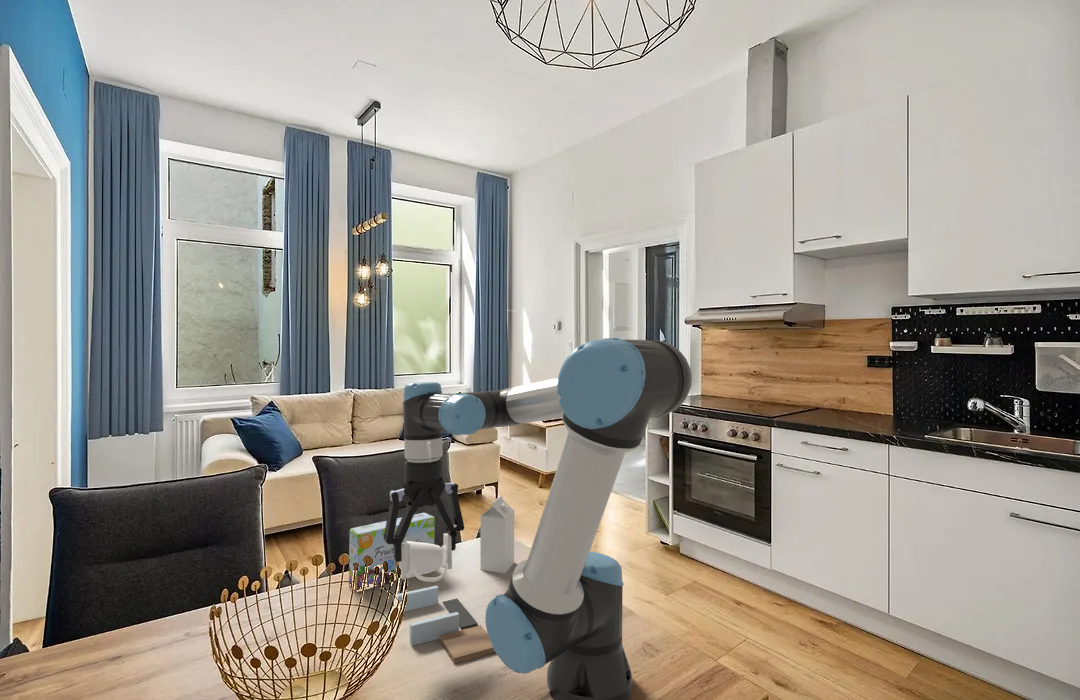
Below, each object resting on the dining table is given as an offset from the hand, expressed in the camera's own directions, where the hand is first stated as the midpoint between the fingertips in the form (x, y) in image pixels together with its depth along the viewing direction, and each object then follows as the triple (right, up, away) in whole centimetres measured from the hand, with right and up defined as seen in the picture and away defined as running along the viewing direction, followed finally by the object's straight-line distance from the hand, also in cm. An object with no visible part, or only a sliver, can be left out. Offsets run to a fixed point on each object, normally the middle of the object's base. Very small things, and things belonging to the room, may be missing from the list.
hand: (425, 571), depth 108 cm
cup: (+4, +2, +1) cm, 5 cm away
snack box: (-15, -15, +30) cm, 36 cm away
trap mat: (+5, -14, +12) cm, 19 cm away
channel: (-2, -14, +8) cm, 17 cm away
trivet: (+9, -15, -1) cm, 17 cm away
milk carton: (+12, -15, +37) cm, 41 cm away
